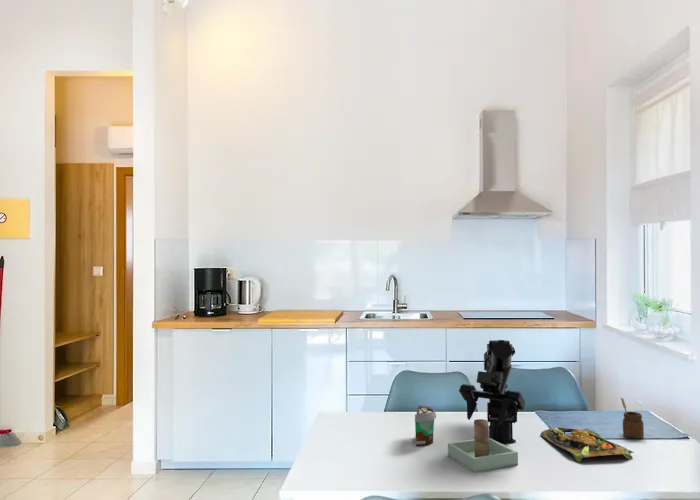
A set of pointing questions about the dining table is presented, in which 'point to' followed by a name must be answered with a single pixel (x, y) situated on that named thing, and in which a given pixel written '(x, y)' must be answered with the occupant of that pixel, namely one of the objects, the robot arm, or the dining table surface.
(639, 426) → the utensil holder
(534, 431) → the dining table surface
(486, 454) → the walnut handle
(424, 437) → the food container
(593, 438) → the prepared meal
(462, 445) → the box
